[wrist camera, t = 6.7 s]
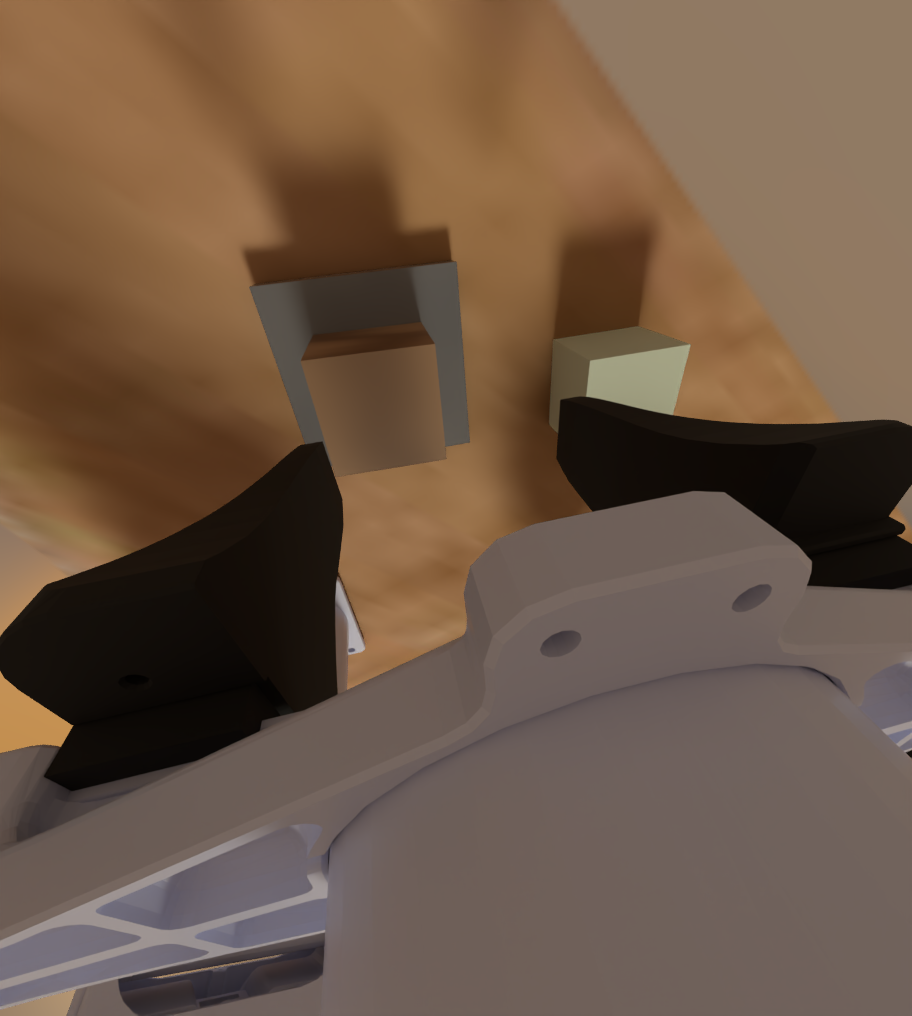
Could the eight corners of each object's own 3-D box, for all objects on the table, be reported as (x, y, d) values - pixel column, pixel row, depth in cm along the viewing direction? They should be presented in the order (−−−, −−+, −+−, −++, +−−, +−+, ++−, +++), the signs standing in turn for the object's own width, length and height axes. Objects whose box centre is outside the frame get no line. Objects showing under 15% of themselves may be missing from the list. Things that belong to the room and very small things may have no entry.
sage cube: (547, 423, 22) (579, 456, 18) (552, 339, 19) (590, 360, 16) (622, 410, 22) (666, 440, 19) (637, 325, 19) (690, 344, 16)
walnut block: (340, 435, 19) (335, 477, 15) (312, 334, 16) (300, 360, 13) (432, 421, 19) (446, 459, 16) (420, 322, 16) (435, 344, 13)
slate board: (316, 459, 20) (314, 469, 19) (255, 284, 15) (249, 286, 15) (465, 434, 21) (469, 442, 20) (451, 260, 16) (456, 261, 15)
